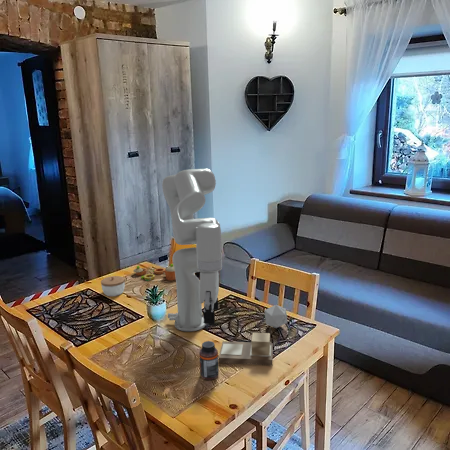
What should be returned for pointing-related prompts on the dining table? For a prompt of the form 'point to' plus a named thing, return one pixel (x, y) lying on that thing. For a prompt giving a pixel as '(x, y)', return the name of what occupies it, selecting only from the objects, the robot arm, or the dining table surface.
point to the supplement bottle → (209, 361)
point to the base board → (243, 354)
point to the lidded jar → (113, 285)
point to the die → (275, 316)
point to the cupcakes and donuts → (168, 272)
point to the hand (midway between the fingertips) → (211, 316)
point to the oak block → (260, 343)
